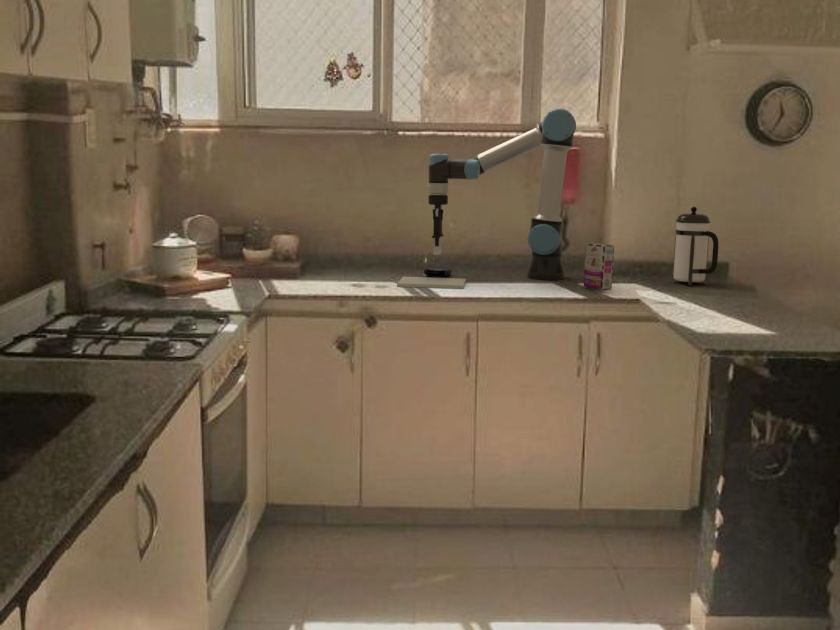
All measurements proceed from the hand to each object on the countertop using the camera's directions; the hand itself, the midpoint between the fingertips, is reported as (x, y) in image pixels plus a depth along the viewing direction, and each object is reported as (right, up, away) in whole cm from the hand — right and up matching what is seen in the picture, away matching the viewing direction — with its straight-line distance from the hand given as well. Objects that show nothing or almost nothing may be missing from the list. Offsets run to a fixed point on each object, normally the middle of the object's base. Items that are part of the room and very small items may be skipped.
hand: (437, 253), depth 358 cm
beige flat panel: (-2, -12, -18) cm, 22 cm away
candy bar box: (+59, -14, -19) cm, 64 cm away
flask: (-1, -10, 0) cm, 10 cm away
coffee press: (+99, -12, -2) cm, 100 cm away
